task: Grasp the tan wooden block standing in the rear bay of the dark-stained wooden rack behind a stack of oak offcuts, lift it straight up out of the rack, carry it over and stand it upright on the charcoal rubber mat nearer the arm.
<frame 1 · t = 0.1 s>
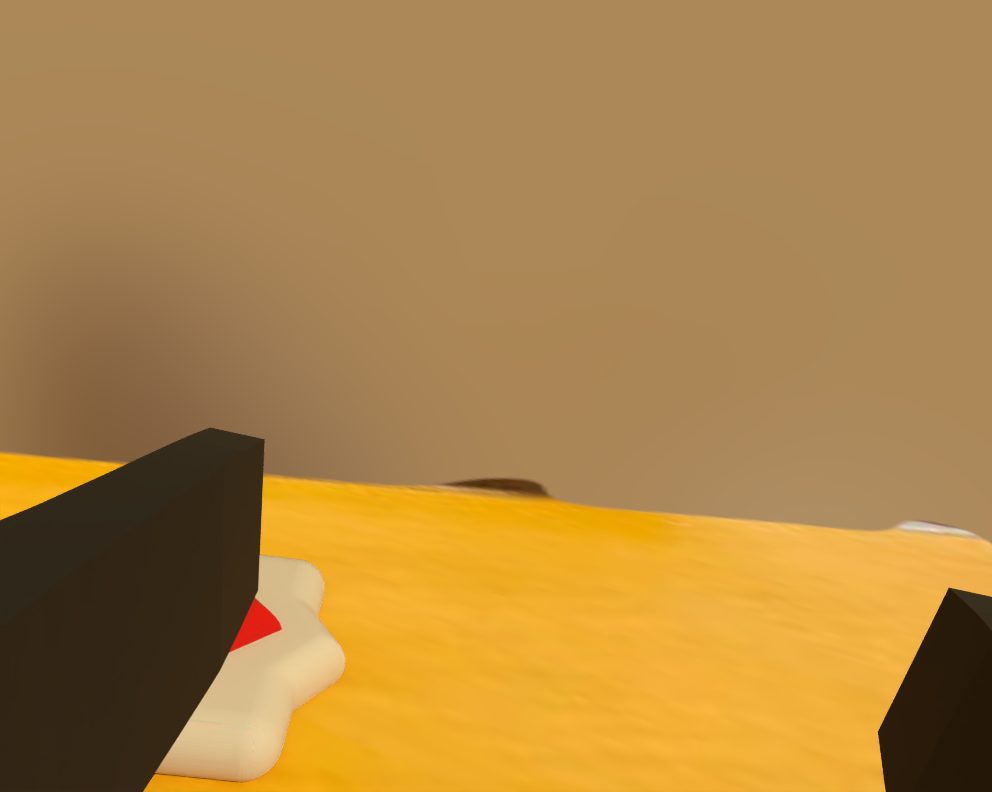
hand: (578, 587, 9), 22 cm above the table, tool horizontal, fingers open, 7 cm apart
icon: (224, 681, 38), on the table
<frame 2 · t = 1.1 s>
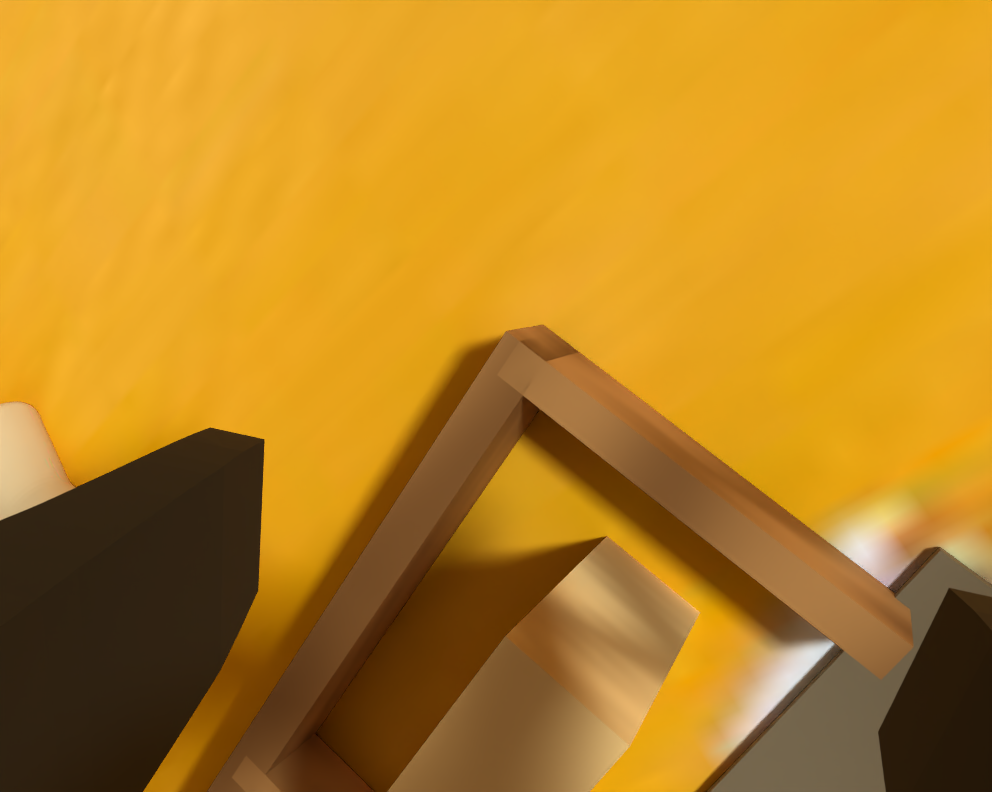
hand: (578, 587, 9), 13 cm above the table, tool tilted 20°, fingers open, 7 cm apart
tan wooden block: (548, 701, 25), on the table
rack: (490, 773, 26), on the table
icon: (19, 513, 33), on the table
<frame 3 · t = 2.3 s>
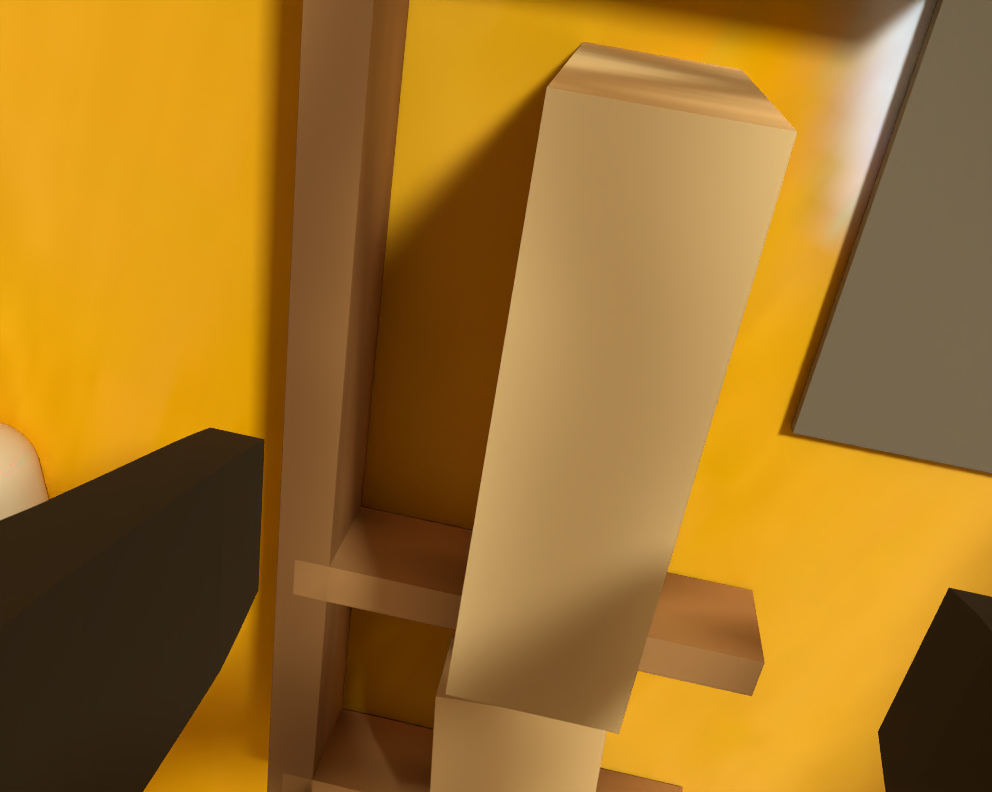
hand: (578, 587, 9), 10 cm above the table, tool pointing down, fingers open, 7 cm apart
tan wooden block: (607, 301, 19), on the table
offcut upper: (523, 705, 22), point 2 cm above the table, touching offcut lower
rack: (580, 424, 20), on the table
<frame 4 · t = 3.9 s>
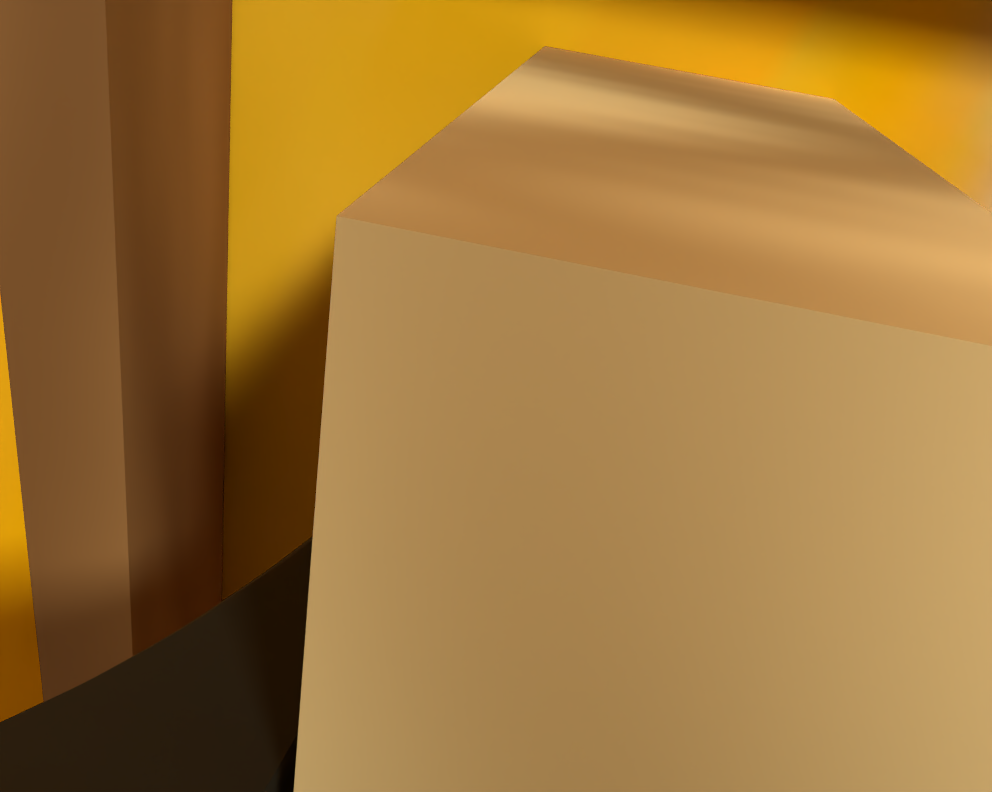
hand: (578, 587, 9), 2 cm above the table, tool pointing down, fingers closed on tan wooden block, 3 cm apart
tan wooden block: (589, 478, 11), on the table, touching gripper
rack: (548, 655, 13), on the table
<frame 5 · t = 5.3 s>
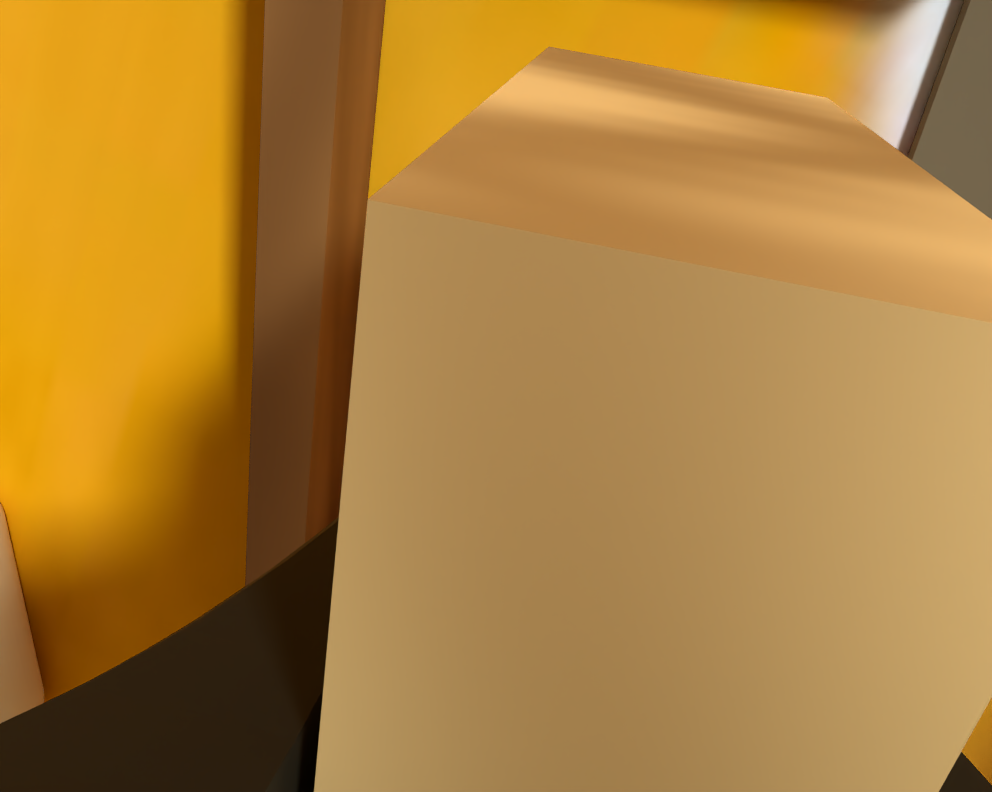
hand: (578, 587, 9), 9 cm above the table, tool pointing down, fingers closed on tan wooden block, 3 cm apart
tan wooden block: (591, 466, 12), point 6 cm above the table, touching gripper
rack: (576, 435, 19), on the table
when the fingers open (3 cm above the table, at t = 8.0 s): tan wooden block stays where it is, resting on mat.
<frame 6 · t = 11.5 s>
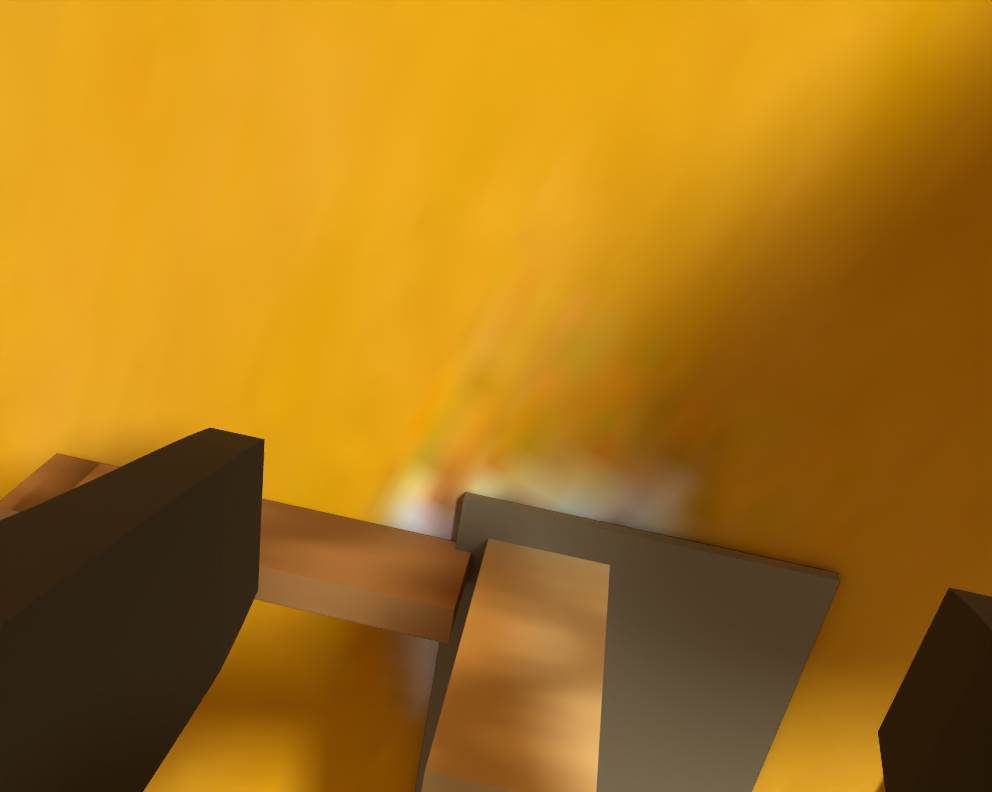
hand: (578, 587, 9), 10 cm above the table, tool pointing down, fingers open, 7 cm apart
tan wooden block: (515, 700, 24), resting on mat
mat: (597, 712, 24), on the table
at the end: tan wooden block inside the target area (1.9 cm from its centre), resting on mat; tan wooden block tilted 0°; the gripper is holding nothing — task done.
